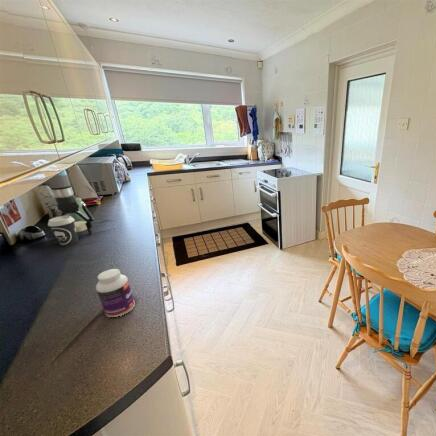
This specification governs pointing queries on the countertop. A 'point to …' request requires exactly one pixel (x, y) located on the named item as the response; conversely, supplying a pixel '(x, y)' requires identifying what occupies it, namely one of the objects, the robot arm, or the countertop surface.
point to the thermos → (77, 217)
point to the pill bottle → (114, 293)
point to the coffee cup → (64, 230)
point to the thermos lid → (80, 226)
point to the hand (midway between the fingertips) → (79, 234)
